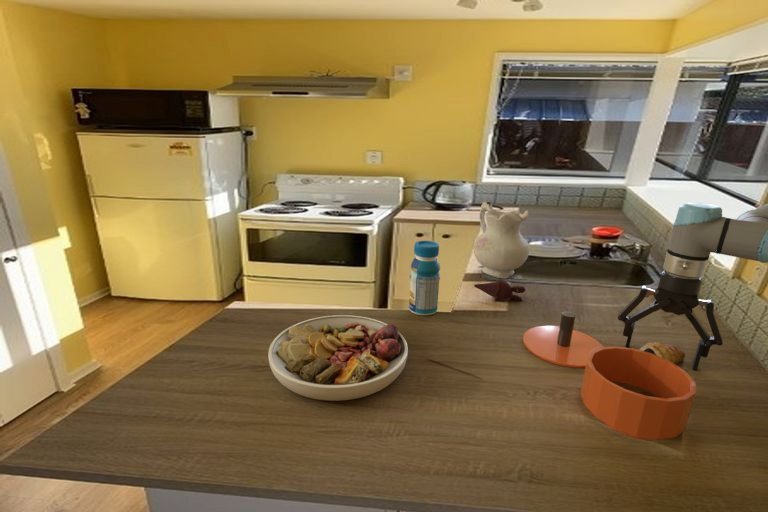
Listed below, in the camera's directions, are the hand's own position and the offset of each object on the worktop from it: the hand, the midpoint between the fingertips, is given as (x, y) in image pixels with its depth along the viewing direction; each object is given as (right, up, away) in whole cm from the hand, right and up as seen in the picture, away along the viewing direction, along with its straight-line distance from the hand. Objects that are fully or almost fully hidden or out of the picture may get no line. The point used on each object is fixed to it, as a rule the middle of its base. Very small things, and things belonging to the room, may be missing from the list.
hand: (659, 357), depth 100 cm
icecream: (-30, +10, +30) cm, 44 cm away
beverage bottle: (-54, +8, +22) cm, 59 cm away
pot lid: (-21, +2, +3) cm, 22 cm away
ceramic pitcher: (-24, +19, +55) cm, 63 cm away
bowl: (-75, 0, -6) cm, 75 cm away
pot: (-17, -6, -18) cm, 25 cm away
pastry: (0, 0, 0) cm, 0 cm away
